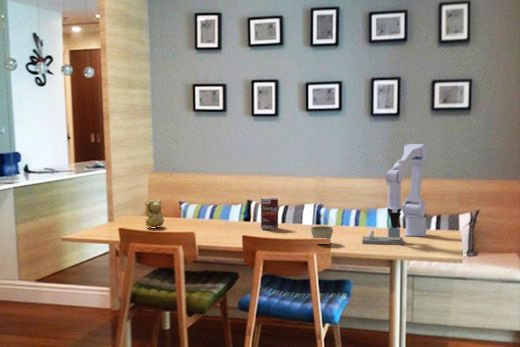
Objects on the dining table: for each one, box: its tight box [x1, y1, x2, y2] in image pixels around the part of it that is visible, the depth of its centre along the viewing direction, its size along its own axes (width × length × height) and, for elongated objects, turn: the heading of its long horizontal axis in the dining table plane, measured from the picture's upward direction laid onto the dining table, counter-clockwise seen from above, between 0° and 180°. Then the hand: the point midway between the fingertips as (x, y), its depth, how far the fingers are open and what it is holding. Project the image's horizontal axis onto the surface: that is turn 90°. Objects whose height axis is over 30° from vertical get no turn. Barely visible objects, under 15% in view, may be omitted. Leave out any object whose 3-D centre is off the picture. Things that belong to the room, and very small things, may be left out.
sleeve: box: [387, 226, 401, 240], centre depth 254 cm, size 5×5×5 cm
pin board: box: [361, 229, 404, 246], centre depth 255 cm, size 18×9×6 cm, turn 79°
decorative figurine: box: [144, 199, 165, 228], centre depth 297 cm, size 10×8×15 cm
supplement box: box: [260, 197, 279, 231], centre depth 290 cm, size 9×5×16 cm, turn 97°
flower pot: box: [310, 225, 334, 240], centre depth 253 cm, size 10×10×7 cm
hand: (394, 225), depth 253 cm, fingers open, 7 cm apart
